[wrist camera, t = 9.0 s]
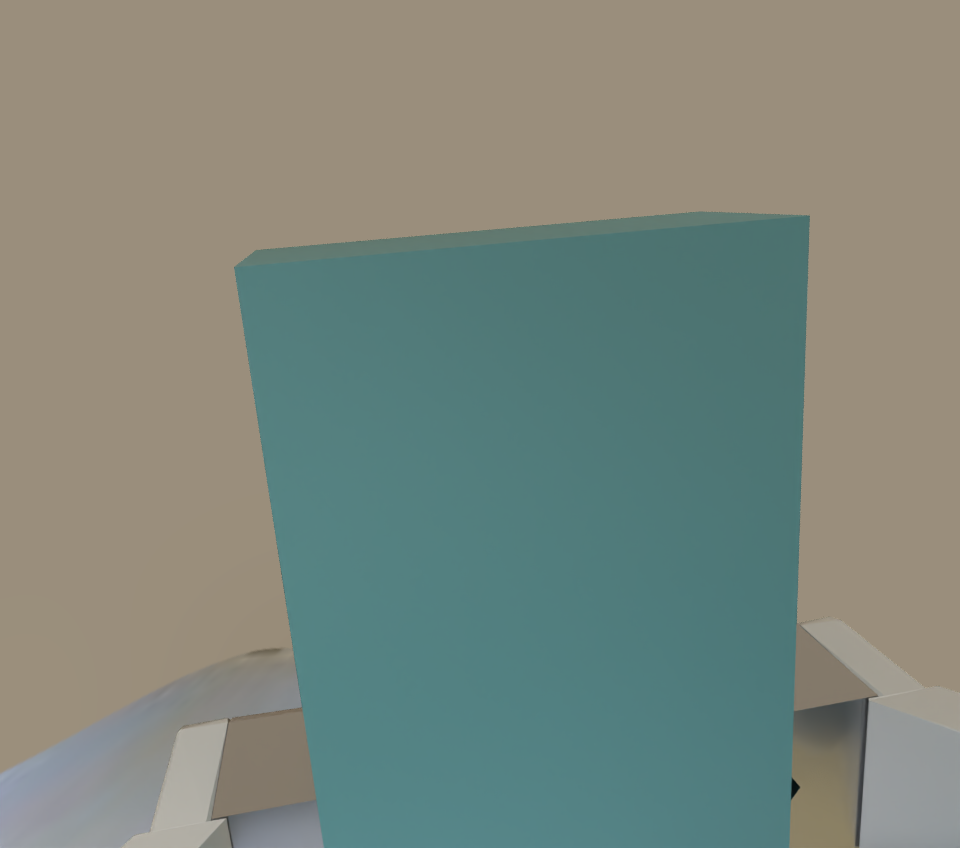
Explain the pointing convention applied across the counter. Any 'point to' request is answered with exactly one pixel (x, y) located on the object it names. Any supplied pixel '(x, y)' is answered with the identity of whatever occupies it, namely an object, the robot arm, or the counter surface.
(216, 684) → the counter surface
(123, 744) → the counter surface
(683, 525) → the domino
